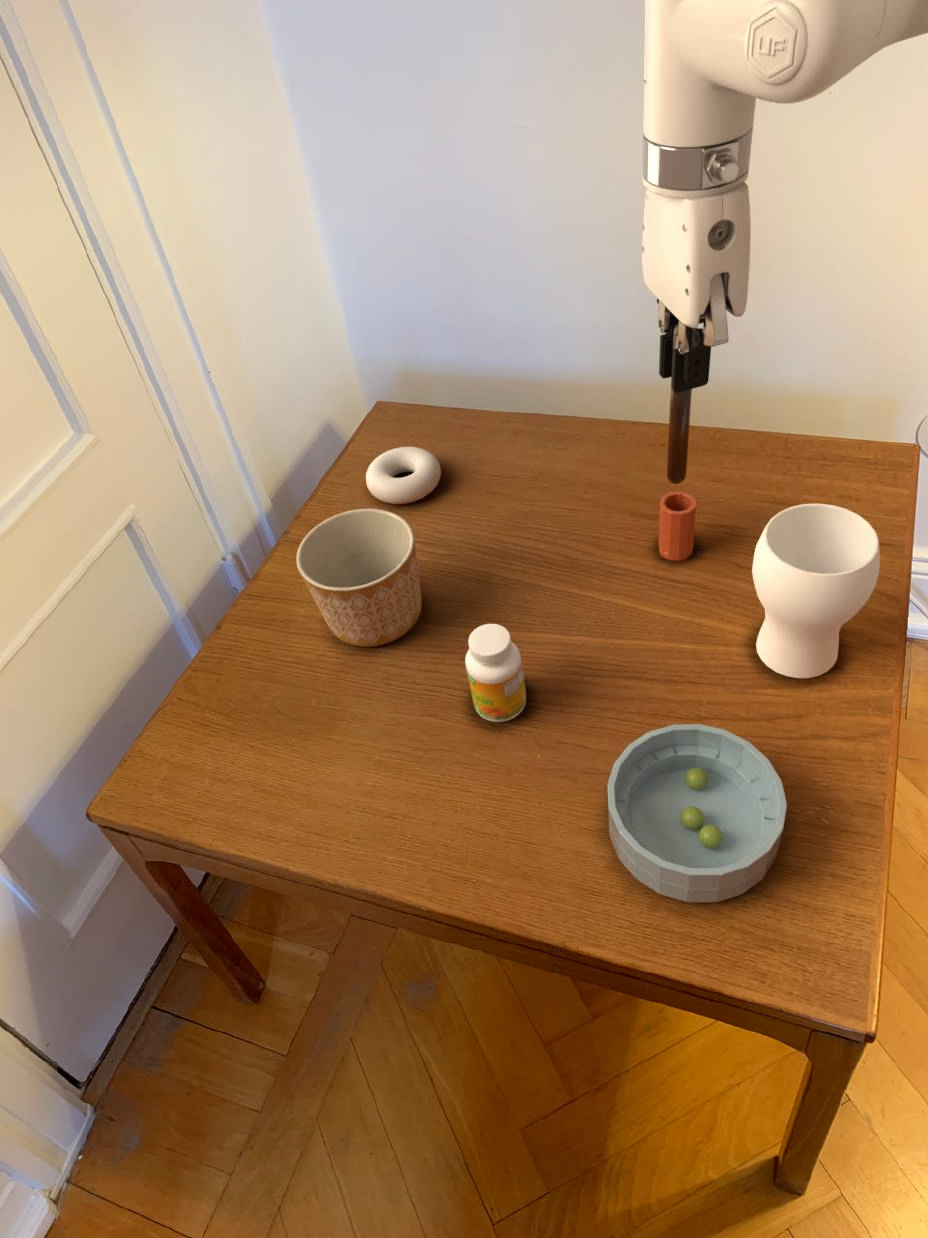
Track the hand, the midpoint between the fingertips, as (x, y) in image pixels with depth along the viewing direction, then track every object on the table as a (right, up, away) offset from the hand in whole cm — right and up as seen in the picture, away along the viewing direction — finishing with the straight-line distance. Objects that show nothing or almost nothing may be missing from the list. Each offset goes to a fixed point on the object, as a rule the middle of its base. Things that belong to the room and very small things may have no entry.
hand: (683, 378), depth 75 cm
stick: (+1, -8, +8) cm, 11 cm away
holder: (+5, -13, +23) cm, 27 cm away
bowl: (+1, -39, 0) cm, 39 cm away
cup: (+14, -24, +11) cm, 30 cm away
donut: (-27, -3, +39) cm, 47 cm away
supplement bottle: (-15, -30, +12) cm, 35 cm away
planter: (-29, -21, +23) cm, 42 cm away
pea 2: (0, -38, -1) cm, 38 cm away
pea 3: (+2, -39, -3) cm, 39 cm away
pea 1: (+2, -35, +1) cm, 35 cm away
